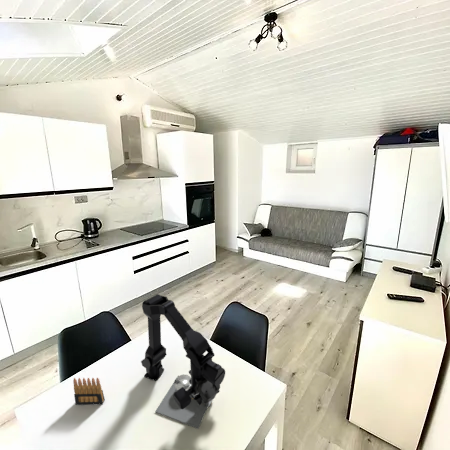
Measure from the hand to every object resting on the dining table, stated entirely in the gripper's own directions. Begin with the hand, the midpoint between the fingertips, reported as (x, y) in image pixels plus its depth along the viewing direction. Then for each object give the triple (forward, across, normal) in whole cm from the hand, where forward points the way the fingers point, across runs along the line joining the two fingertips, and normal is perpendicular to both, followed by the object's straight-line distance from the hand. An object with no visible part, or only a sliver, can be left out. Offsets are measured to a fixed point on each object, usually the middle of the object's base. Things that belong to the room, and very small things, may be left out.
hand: (199, 404), depth 93 cm
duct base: (+3, -2, +6) cm, 7 cm away
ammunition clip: (+3, -31, +31) cm, 44 cm away
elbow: (+1, +1, +6) cm, 6 cm away
